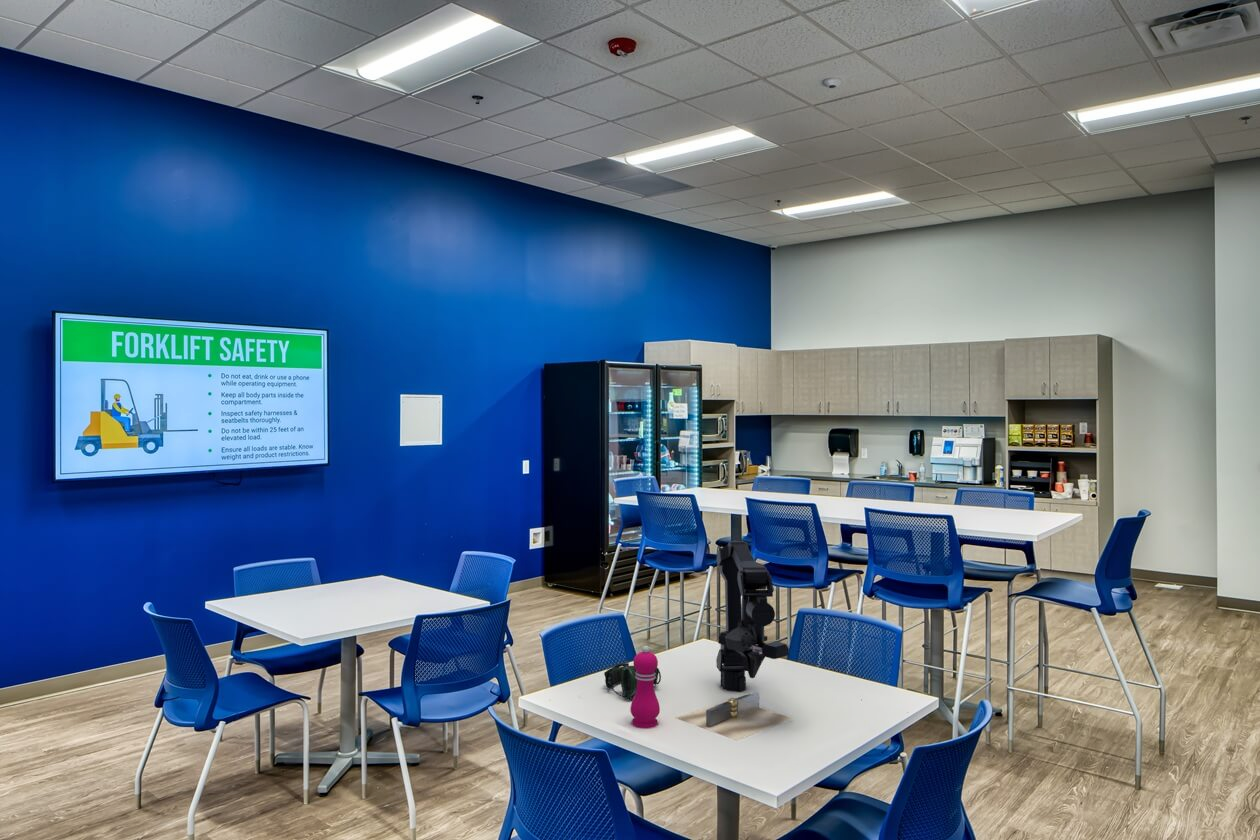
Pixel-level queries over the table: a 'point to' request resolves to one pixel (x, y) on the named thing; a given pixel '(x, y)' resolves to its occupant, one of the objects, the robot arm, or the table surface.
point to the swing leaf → (719, 713)
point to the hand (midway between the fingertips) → (752, 677)
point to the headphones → (625, 679)
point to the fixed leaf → (745, 704)
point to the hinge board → (736, 722)
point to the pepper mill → (645, 691)
